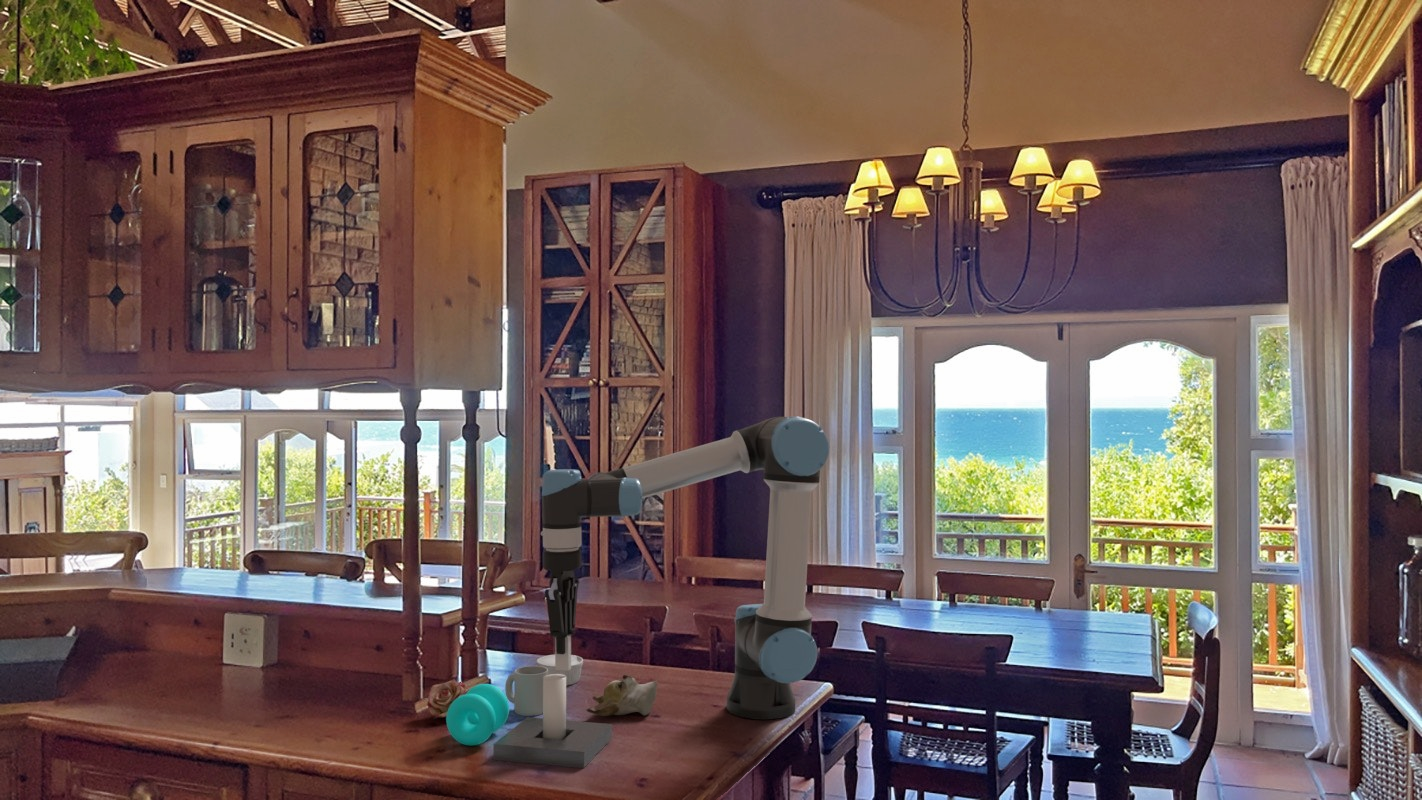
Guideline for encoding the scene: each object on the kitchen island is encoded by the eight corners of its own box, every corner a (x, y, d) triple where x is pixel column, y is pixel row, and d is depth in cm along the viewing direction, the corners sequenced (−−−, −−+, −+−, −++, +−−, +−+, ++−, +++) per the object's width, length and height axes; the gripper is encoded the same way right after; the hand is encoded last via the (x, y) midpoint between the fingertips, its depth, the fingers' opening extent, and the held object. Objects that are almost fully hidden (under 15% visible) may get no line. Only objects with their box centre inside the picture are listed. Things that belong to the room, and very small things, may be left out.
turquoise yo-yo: (443, 746, 189) (443, 694, 189) (464, 729, 199) (465, 680, 199) (491, 749, 188) (492, 697, 188) (511, 732, 197) (511, 683, 197)
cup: (537, 718, 206) (537, 676, 206) (496, 712, 210) (497, 671, 210) (553, 708, 213) (554, 667, 213) (514, 703, 216) (514, 663, 217)
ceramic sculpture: (654, 680, 204) (584, 683, 205) (657, 721, 204) (586, 724, 205) (658, 667, 215) (591, 670, 215) (660, 706, 215) (593, 709, 215)
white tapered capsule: (569, 746, 189) (569, 674, 189) (560, 754, 185) (561, 680, 185) (547, 744, 190) (548, 673, 190) (539, 752, 186) (539, 679, 186)
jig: (611, 739, 194) (611, 724, 194) (584, 768, 178) (584, 751, 178) (527, 732, 197) (527, 717, 197) (493, 759, 182) (493, 743, 182)
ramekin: (585, 686, 230) (585, 664, 230) (537, 689, 227) (537, 667, 227) (580, 673, 241) (580, 652, 241) (535, 676, 238) (535, 655, 238)
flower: (434, 702, 212) (424, 680, 207) (473, 693, 212) (464, 671, 208) (432, 736, 204) (422, 714, 200) (472, 727, 205) (463, 705, 201)
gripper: (555, 543, 196) (557, 659, 196) (531, 553, 184) (532, 677, 184) (591, 544, 195) (592, 661, 195) (568, 554, 182) (569, 679, 182)
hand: (563, 669), depth 189 cm, fingers closed
